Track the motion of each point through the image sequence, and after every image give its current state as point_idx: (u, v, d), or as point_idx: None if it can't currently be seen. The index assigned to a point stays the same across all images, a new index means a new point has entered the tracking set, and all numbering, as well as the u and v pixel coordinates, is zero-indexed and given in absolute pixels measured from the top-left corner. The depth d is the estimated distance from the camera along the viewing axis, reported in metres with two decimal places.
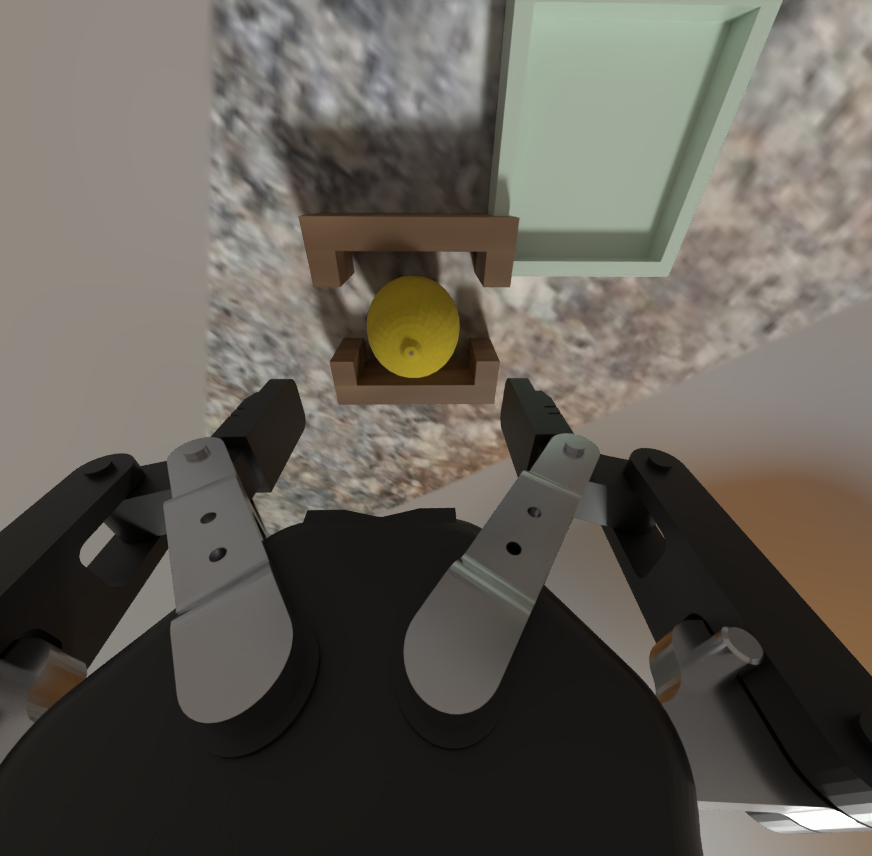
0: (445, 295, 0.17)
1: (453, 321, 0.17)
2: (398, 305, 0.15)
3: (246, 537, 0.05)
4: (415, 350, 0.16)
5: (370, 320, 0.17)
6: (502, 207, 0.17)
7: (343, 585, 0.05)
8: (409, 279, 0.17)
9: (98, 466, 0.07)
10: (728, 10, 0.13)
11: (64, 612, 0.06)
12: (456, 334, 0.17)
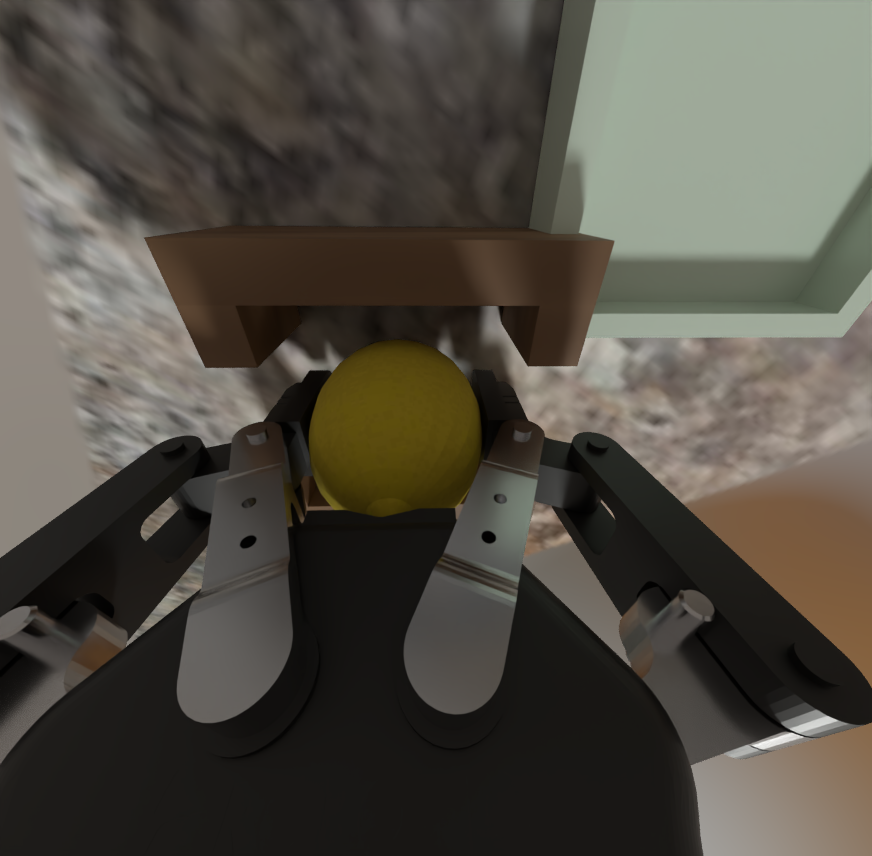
0: (458, 386, 0.09)
1: (475, 439, 0.09)
2: (362, 426, 0.07)
3: (276, 529, 0.05)
4: None
5: (310, 440, 0.08)
6: (568, 218, 0.09)
7: (343, 585, 0.05)
8: (388, 358, 0.09)
9: (171, 446, 0.08)
10: None
11: (120, 580, 0.06)
12: (478, 458, 0.09)
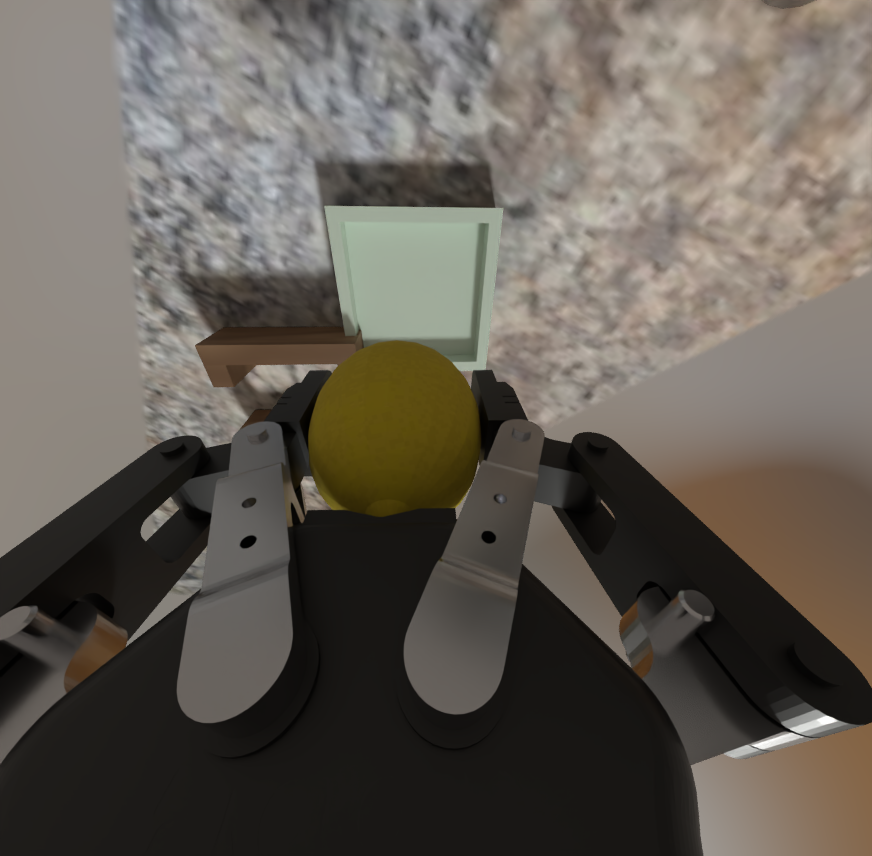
0: (457, 388, 0.09)
1: (473, 440, 0.09)
2: (361, 428, 0.07)
3: (276, 529, 0.05)
4: None
5: (310, 441, 0.08)
6: (349, 331, 0.23)
7: (343, 585, 0.05)
8: (387, 360, 0.09)
9: (171, 446, 0.08)
10: (471, 222, 0.20)
11: (120, 580, 0.06)
12: (478, 459, 0.09)
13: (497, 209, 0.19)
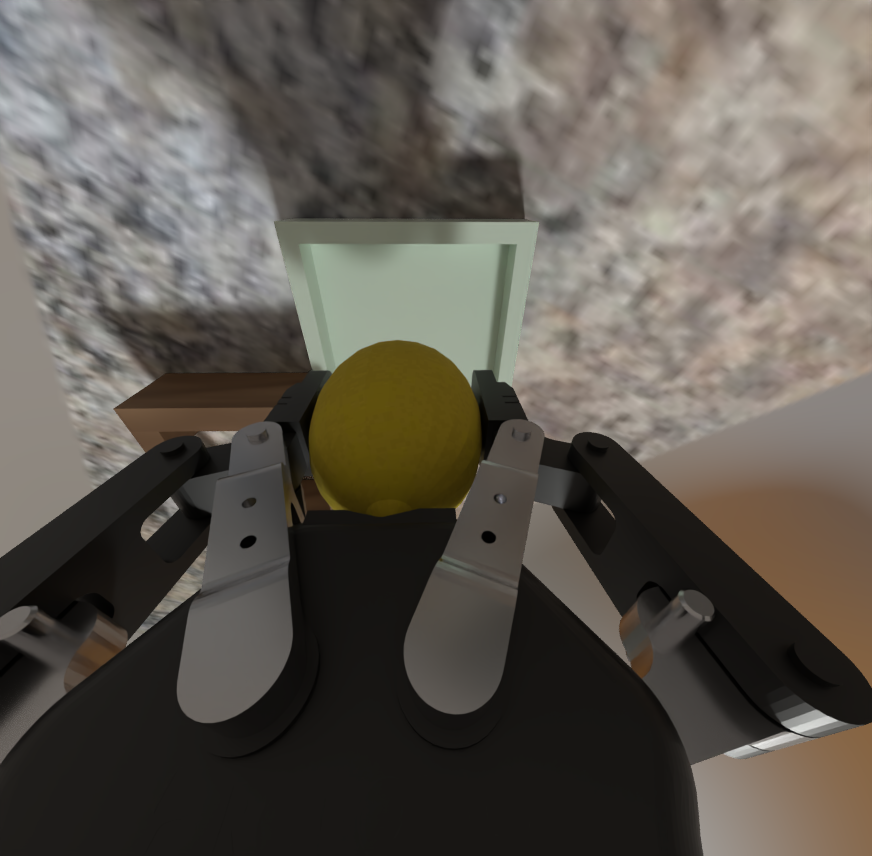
0: (458, 387, 0.09)
1: (475, 440, 0.09)
2: (362, 428, 0.07)
3: (276, 530, 0.05)
4: None
5: (310, 441, 0.08)
6: None
7: (344, 584, 0.05)
8: (388, 359, 0.09)
9: (171, 446, 0.08)
10: (490, 243, 0.14)
11: (120, 580, 0.06)
12: (479, 459, 0.09)
13: (530, 224, 0.13)
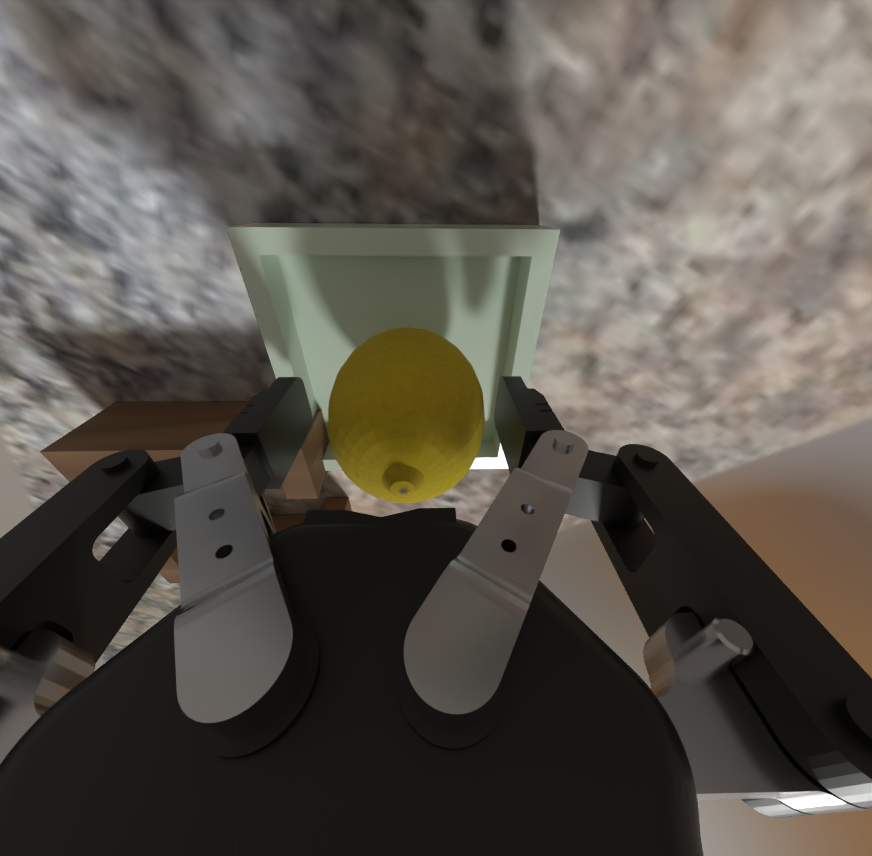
0: (463, 369, 0.10)
1: (478, 416, 0.10)
2: (378, 402, 0.08)
3: (252, 535, 0.05)
4: (411, 487, 0.08)
5: (330, 417, 0.09)
6: None
7: (343, 585, 0.05)
8: (400, 343, 0.09)
9: (113, 461, 0.07)
10: (499, 254, 0.11)
11: (76, 605, 0.06)
12: (482, 434, 0.10)
13: (549, 232, 0.10)
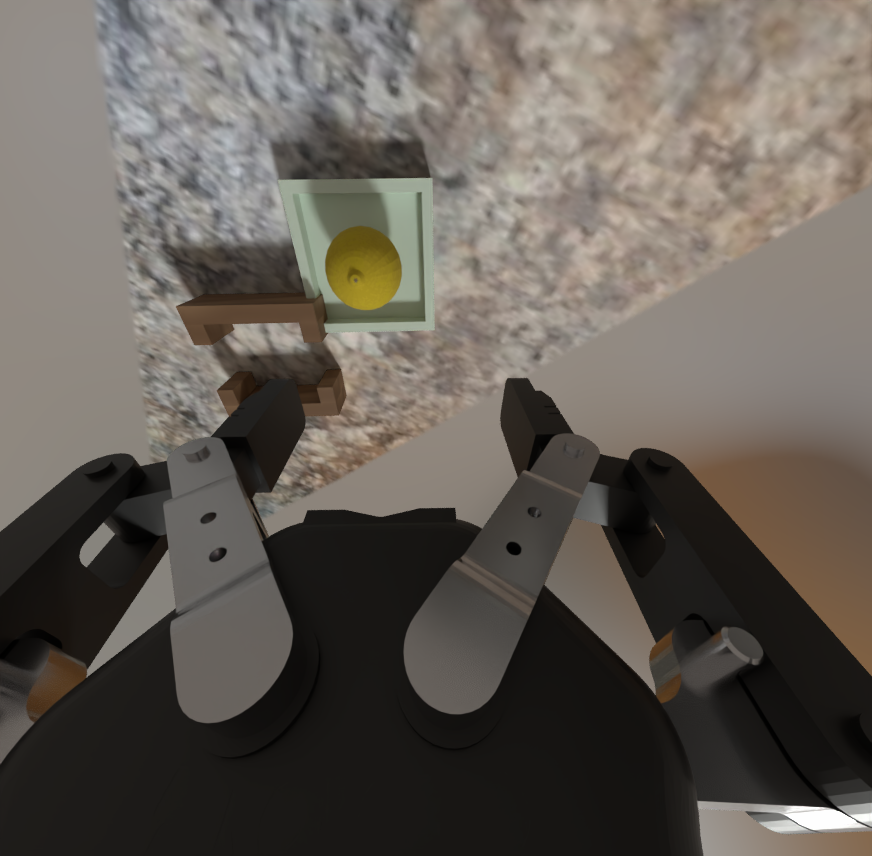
0: (385, 239, 0.22)
1: (391, 258, 0.21)
2: (344, 243, 0.20)
3: (246, 537, 0.05)
4: (358, 278, 0.20)
5: (325, 259, 0.21)
6: (310, 293, 0.27)
7: (343, 585, 0.05)
8: (356, 227, 0.21)
9: (98, 466, 0.07)
10: (407, 192, 0.23)
11: (64, 612, 0.06)
12: (395, 270, 0.22)
13: (427, 179, 0.22)
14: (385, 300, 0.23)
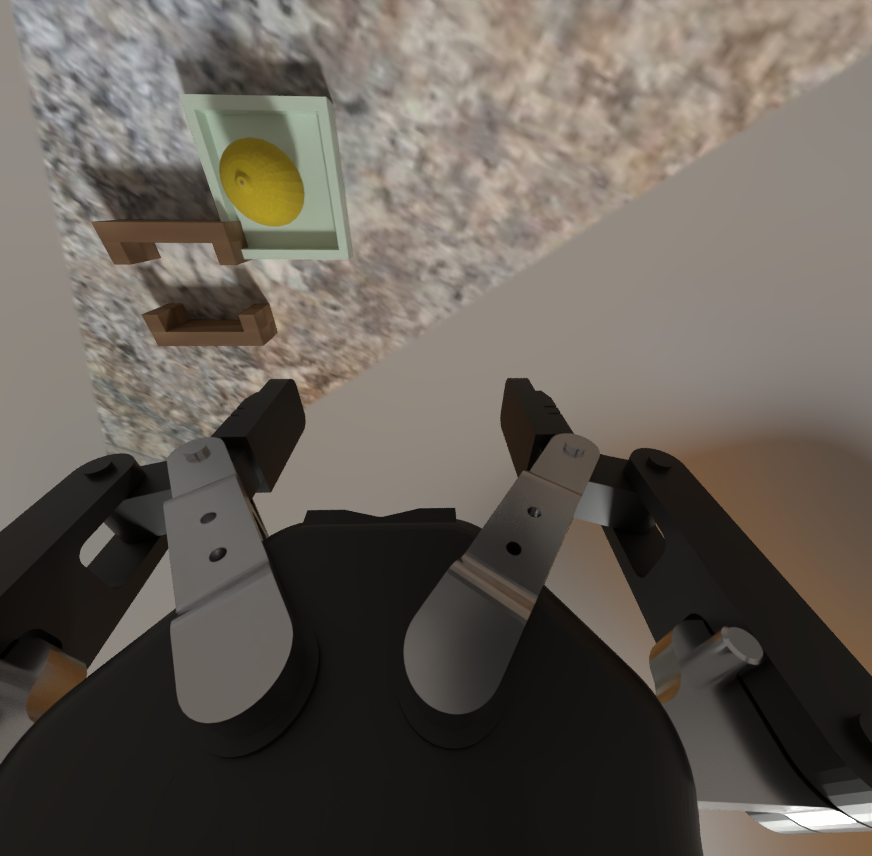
0: (277, 150, 0.23)
1: (282, 168, 0.23)
2: (231, 147, 0.21)
3: (246, 537, 0.05)
4: (244, 180, 0.21)
5: (219, 167, 0.23)
6: (224, 216, 0.28)
7: (343, 585, 0.05)
8: None
9: (98, 466, 0.07)
10: (305, 112, 0.24)
11: (64, 612, 0.06)
12: (287, 181, 0.23)
13: (321, 98, 0.24)
14: (282, 212, 0.24)
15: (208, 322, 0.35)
